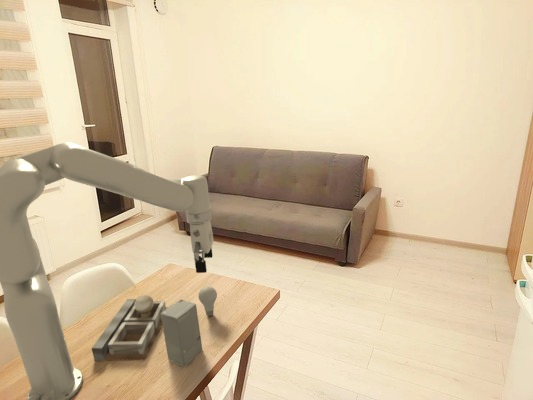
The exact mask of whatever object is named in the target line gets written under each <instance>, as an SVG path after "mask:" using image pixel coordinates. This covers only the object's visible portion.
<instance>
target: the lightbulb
mask: <svg viewBox="0 0 533 400" xmlns="http://www.w3.org/2000/svg"><path fill="white" fill-rule="evenodd" d="M197 296H198V300H199V302H200V303H201V304H202V305H203V308H204V311H205V315H206V316H207V317H211V316H213V315H214V310H215V309H214V308H215V302H216V301H217V297H218V293H217V290H216V289H215V288H214V287H213V286H210V285H206V286H203V287H202V288H201V289H200V290H199V292H198V295H197Z"/></svg>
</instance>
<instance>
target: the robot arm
mask: <svg viewBox="0 0 533 400" xmlns="http://www.w3.org/2000/svg"><path fill="white" fill-rule="evenodd" d="M63 179H67V180H70V181H73V182H76V183H78V184H82V185H86V186H91V187H93V188H97V189H100V190H104V191H107V192H111V193H113V194H116V195H117V194H118V195H121V196H123V197H126V198H129V199H133V200H138V201H140V202H143V203H147V204H149V205H152V206H156V207H158V208H159V207H160V208H163V209H165V210H170V211H174V212H184V211H185V217H186V222H187V224H189V231H190V242H191V249H192V253H193V259H194V265H195V266H194V267H195V273H197V274H202V273H205V274H206V273H207V271H208V270H207V264H206V262H207V261H206V260H205V259H206V258H207V259H208V258H213V250H212V249H213V248H212V247H213V244H214V233H213V228H212V222H211V220H212V212H211V203H210V202H211V201H210V195H209V186H208V180H207V177H205V176H204V175H199V174H196V175H194V174H193V175H189V176H185V177H181V178H163V177H162V176H158V175H156V174H153V173H152V172H149V171H147V170H145V169H143V168H141V167H139V166H137V165H134V164H133V163H129V162H127V161H124V160H122V159H118V158H115V157H113V156H109V155H107V154H104V153H101V152H99V151H95V150H93V149H89V148H87V147H84V146H82V145H80V144H77V143H73V142H70V141H69V142H62V143H58V144H55V145H53V146H49V147H47V148H43V149H40V150H37V151H34V152H31V153H29V154H26V155H25V154H24V155H22V156H19V157H15V158H13V159H10V160H8V161H6V162H5V163H3V164H2V165H0V286H1V288H2V292H3V303H4V304H3V305H4V314H5V318H6V321H7V323H8V326H9V329H10V330H11V333H12V336H13V337H14V341H15V344H16V348H17V350H18V352H19V355H20V358H21V361H22V364H23V367H24V370H25V373H26V376H27V379H28V383H29V384H30V389H29V391H28V393H27V395H26V400H70V399H71V398H73V397H74V396H75V395H76V394H77V392H78V391H79V390H80V389H81V387H82V385H83V383H84V382H83V381H84V376H83V373H82V372H81V370H79V369H78V368H75V367H74V366H73V363H72V359H71V356H70V352H69V348H68V344H67V341H66V338H65V334H64V330H63V326H62V324H61V319H60V316H59V312H58V308H57V302H56V299H55V296H54V293H53V290H52V287H51V286H50V283H49V280H48V277H47V274H46V271H45V268H44V264H43V260H42V257H41V253H40V250H39V247H38V244H37V242H36V240H35V239H34V237H33V234H32V232H31V227H30V223H29V220H28V216H27V214H28V213H27V211H28V209H29V208H30V205H31V204H32V203H34V202H35V201H36V200H38V199H39V197H40V196H41V195H42V194H43V192H44V190H45V188H46V186H48V185H50V184H53V183H55V182H58V181H60V180H63Z"/></svg>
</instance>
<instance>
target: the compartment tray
mask: <svg viewBox="0 0 533 400" xmlns="http://www.w3.org/2000/svg"><path fill="white" fill-rule="evenodd" d="M168 308H169V306H166V301H164V300H160V301H158V300H156V301H154V299H153V297H152V296H151V295H149V294H141V295H139V296H138V297H137V298H128V299H126V300H125V302H124V303H123V304H122V306H121V307H120V308H119V310H118V311H117V312H116V314H115V316H114V317H113V318H112V319H111V321H110V322H109V324H107V327H106V328H105V329H104V331H103V332H102V333H101V335H100V336H99V337H98V338H97V340H96V342H95V343H94V345H93V346H92V347H91V351H92V355H93V360H94V361H98V362H99V361H102V362H103V361H104V362H105V361H146V359H147V357H148V356H149V353H150V351H151V350H152V347H153V346H154V344H155V341H156V339H157V337H158V336H159V333H160V331H161V329H162V328H163V325H162V320H161V315H160V314H161V313H162V312H163V311H165V310H166V309H168Z"/></svg>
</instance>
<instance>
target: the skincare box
mask: <svg viewBox="0 0 533 400" xmlns="http://www.w3.org/2000/svg"><path fill="white" fill-rule="evenodd" d="M168 307H169V308H168V309H166V310H165V311H163V312H162V313H161V314H160V315H161V320H162V331H163V335H164V341H165V346H166V354H167V359H168V361H170V362H172V363H175V364H176V365H179V366H181V367H183V368H186V367H187V366H188V365H189V364H190V363H191V361H192V360H193V359H195V358H196V357H197V356H198V355H199V353H201V351H203V344H202V335H201V330H200V323H199V317H198V309H197V304H196V303H194V302H191V301H187V300H184V299H179V300H177V301H176V302H175V303H174V304H171V305H169V306H168Z"/></svg>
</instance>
